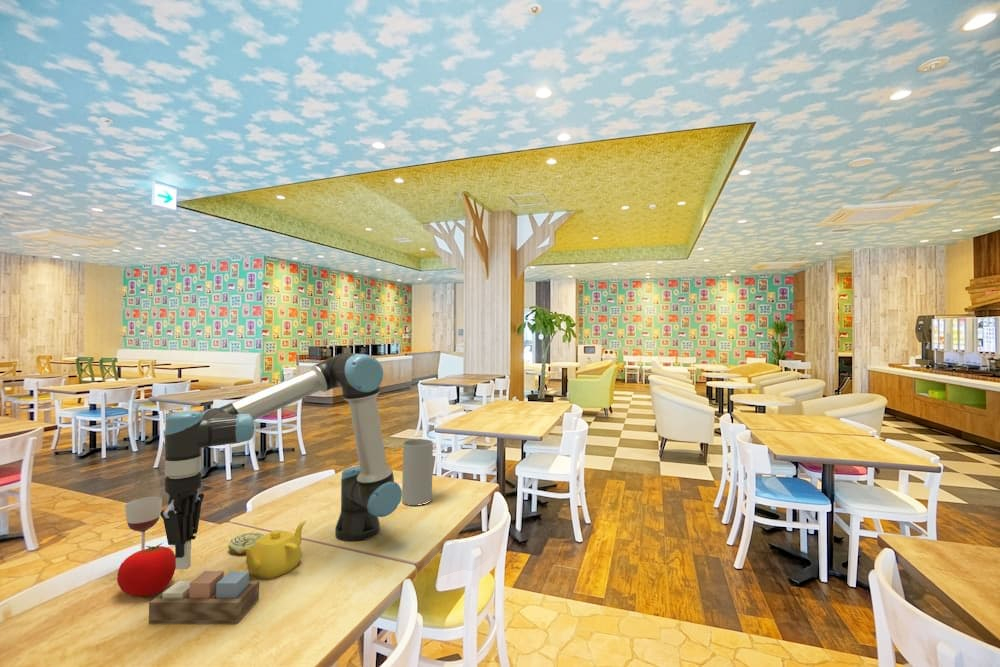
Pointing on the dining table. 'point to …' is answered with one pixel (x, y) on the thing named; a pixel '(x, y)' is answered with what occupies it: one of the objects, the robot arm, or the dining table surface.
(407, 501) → the cylinder vase
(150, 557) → the tomato
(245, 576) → the slate key
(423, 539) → the dining table surface
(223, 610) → the key block
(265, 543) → the teapot
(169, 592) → the ivory key
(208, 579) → the terracotta key
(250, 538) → the decorated donut
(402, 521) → the dining table surface
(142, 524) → the wineglass
